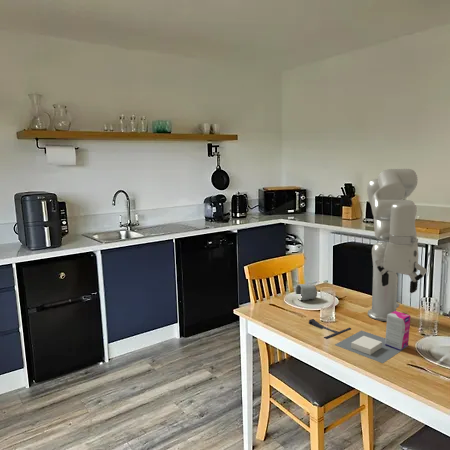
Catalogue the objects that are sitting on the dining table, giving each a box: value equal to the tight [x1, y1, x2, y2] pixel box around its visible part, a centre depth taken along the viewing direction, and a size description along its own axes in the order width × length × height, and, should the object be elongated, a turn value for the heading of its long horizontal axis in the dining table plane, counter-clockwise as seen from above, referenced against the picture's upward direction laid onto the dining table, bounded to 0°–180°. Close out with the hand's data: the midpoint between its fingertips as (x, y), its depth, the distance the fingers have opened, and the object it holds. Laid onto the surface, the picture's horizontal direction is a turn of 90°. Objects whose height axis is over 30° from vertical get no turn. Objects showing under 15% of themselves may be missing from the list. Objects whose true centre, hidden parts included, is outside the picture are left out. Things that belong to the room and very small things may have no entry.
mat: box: [334, 329, 409, 364], centre depth 141 cm, size 18×18×1 cm
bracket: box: [308, 318, 352, 340], centre depth 156 cm, size 14×15×3 cm
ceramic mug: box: [295, 283, 318, 301], centre depth 191 cm, size 11×8×8 cm
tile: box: [351, 336, 382, 355], centre depth 139 cm, size 2×7×8 cm
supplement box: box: [385, 310, 411, 352], centre depth 139 cm, size 6×6×12 cm
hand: (398, 288), depth 137 cm, fingers open, 9 cm apart
